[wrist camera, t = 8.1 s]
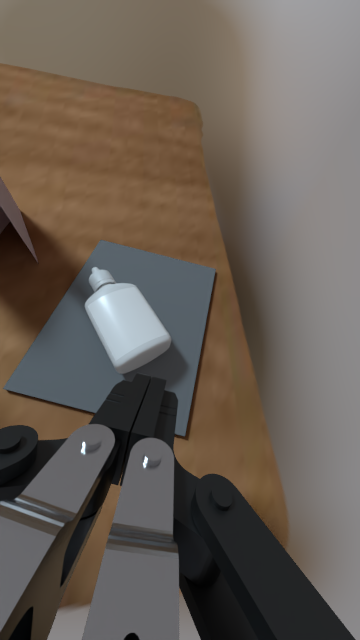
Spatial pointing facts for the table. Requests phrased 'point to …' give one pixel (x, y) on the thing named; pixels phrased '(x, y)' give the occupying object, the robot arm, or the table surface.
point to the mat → (87, 349)
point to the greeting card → (13, 216)
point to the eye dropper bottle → (125, 322)
